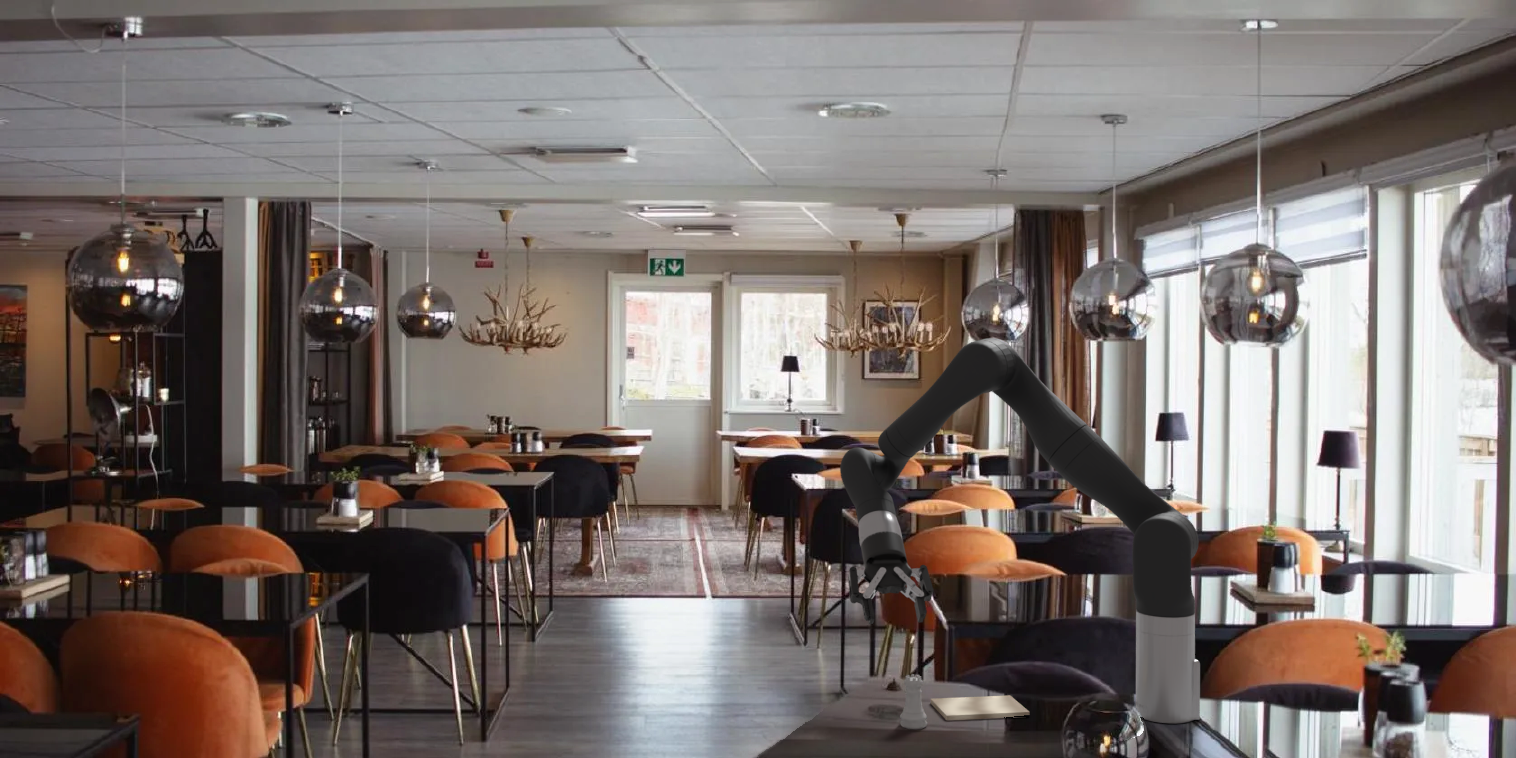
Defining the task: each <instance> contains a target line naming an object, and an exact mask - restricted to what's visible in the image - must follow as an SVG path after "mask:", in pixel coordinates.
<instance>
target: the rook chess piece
mask: <svg viewBox="0 0 1516 758" xmlns="http://www.w3.org/2000/svg"><path fill="white" fill-rule="evenodd" d="M902 682H903V684H904V686H905V690H904V693H905V701H904V702H905V703H904V707H903V710H902V713H900V716H899V718H900V719H901V720H900V721H899V724H900V726H901V727H902V728H904V729H907V730H922V729H924V728H925V727H927V725H928V721H927V719H928V716H927V714H926V713H925V709H924V707H923V704H922V693H923V691H922V686H923V685H924V681H923V680H922V676H920V674H916V675H915V674H911V675H910V674H906V675H905V679H904V680H903V681H902Z"/></svg>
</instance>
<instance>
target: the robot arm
mask: <svg viewBox="0 0 1516 758" xmlns="http://www.w3.org/2000/svg"><path fill="white" fill-rule="evenodd" d="M987 393H993V394H995V395H996V396H997V397H999V399H1001V400H1002V401H1003V402H1004V403H1005V404H1006V405H1007V406H1009V407H1010V408H1011V409H1012V411H1014V412H1015V414H1016V415H1017V416H1018V417H1019V418H1020V420H1021V421H1022V424H1023V425H1024V426H1025V429H1026V430H1027V432H1028V434H1029V436H1030V439H1031V440H1032V442H1033V444H1034V446H1035V448H1036V450H1037V451H1038V453H1039V454H1040V455H1041V456H1042V458H1043V459H1044V460H1045V461H1046V462H1047V463H1048V464H1049V465H1050V466H1051V467H1052V468H1053V469H1054V470H1055V471H1056V472H1057V473H1058V474H1059V475H1060V476H1061V477H1062V478H1063V479H1064V480H1065V481H1067V483H1069V484H1070V485H1071V486H1073V487H1074V488H1075V489H1077V490H1078V491H1080V492H1081V493H1083V494H1084V495H1086V496H1087V497H1089V498H1091V499H1092V500H1093V501H1095V502H1097V503H1098V504H1100V505H1102V506H1103V507H1105V508H1106V509H1108V510H1109V511H1110V512H1111V513H1113V514H1114V515H1115V516H1116V517H1117V518H1118V519H1119V520H1120V521H1121V522H1122V523H1123V524H1124V525H1125V526H1126V528H1128V530H1129V531H1130V532H1131V533H1132V534H1133V535H1134V536H1133V540H1132V550H1131V551H1132V552H1131V553H1132V554H1131V555H1132V556H1131V557H1132V560H1131V561H1132V563H1131V564H1132V589H1133V595H1134V598H1135V709H1136V708H1137V710H1138V712H1140V713H1141V715H1142V717H1143V718H1144V719H1143V718H1142V719H1143V720H1145V721H1150V722H1155V723H1161V724H1162V723H1163V724H1184V723H1189V722H1192V721H1194V720H1200V718H1201V717H1200V716H1201V715H1200V714H1201V713H1200V711H1201V705H1200V704H1201V699H1200V698H1201V663H1200V661H1199V660H1198V659H1197V658H1196V655H1195V654H1196V636H1195V634H1196V632H1195V631H1196V599H1195V596H1194V593H1193V588H1192V559H1193V558H1194V557H1195V556H1196V554H1197V552H1198V549H1199V543H1200V541H1199V535H1198V532H1197V529H1196V527H1195V526H1194V524H1193V522H1192V521H1191V520H1190V519H1188V518H1187V517H1186V516H1185V514H1182V513H1181V512H1180V511H1179V510H1177V509H1176V508H1175V507H1173V506H1172V505H1171V504H1170V503H1168V502H1167V501H1166V500H1164V498H1162V497H1161V496H1160V495H1159V494H1157V493H1156V492H1155V491H1153V490H1152V489H1151V488H1150V487H1149V486H1147V484H1145V482H1143V481H1142V479H1141V478H1139V477H1138V475H1137V474H1136V473H1135V472H1134V471H1133V470H1132V469H1131V468H1130V467H1129V465H1128V464H1127V463H1126V462H1125V461H1124V460H1123V459H1122V458H1121V457H1120V456H1119V455H1118V454H1117V453H1116V452H1115V451H1114V449H1112V448H1111V447H1110V446H1109V444H1107V442H1106V441H1104V439H1103V438H1101V436H1100V435H1099V434H1097V432H1096V431H1095V430H1093V428H1092V427H1090V425H1088V424H1087V423H1086V422H1085V420H1083V419H1082V418H1081V417H1079V416H1078V415H1077V414H1076V413H1075V412H1074V411H1073V410H1072V409H1071V408H1070V407H1069V406H1068V405H1067V404H1065V402H1064V401H1063V400H1061V398H1059V396H1057V395H1056V394H1055V393H1054V392H1053V391H1051V390H1050V389H1049V388H1048V387H1047V385H1045V384H1044V383H1043V382H1042V380H1041V379H1040V378H1039V377H1038V376H1037V374H1036V373H1035V372H1034V371H1033V370H1032V368H1030V367H1029V365H1028V364H1027V363H1026V362H1025V361H1024V359H1023V358H1022V357H1021V355H1019V353H1018V351H1016V350H1015V348H1013V346H1012V345H1010V344H1009V343H1008V342H1006V341H1005V340H1003V339H1000V338H995V337H987V338H983V339H979V340H975V341H974V340H973V341H971V342H969V343H967V344H965V345H964V346H962V348H961V349H959V351H958V353H956V355H955V356H954V358H953V359H952V360H951V361H950V362H949V364H948V365H947V366H946V367H945V369H944V370H943V372H942V374H940V375H939V376H938V378H937V379H936V381H935V382H933V384H932V385H931V386H930V387H929V388H928V389H927V391H926V392H925V393H923V395H922V396H920V397H919V398H918V399H917V400H916V401H915V402H914V403H912V405H910V406H909V408H907V409H906V410H904V411H903V413H901V414H900V415H899V416H898V417H897V418H896V419H895V420H893V422H892V423H891V424H889V425H888V426H887V427H886V428H885V429H884V430H883V431H882V432H881V433H880V434H879V437H878V439H877V444H878V445H877V446H878V447H879V450H880V451H881V454H882V456H881V455H879V454H877V453H875V452H872V451H871V450H868V449H866V448H863V447H852V448H850V449H848V451H846V452H845V453H844V455H843V456H842V459H841V461H840V467H839V471H840V472H839V473H840V478H841V481H842V484H843V486H844V488H845V490H846V492H847V495H848V497H849V499H850V500H851V503H852V504H853V505H854V507H855V514H856V518H857V523H858V537H859V541H858V542H859V545H860V546H859V547H860V548H861V556H862V560H863V565H864V569H857V567H856V566H851V567H850V568H849V571H848V576H847V579H848V580H847V582H848V591H849V592H848V593H849V602H850V603H851V604H860V605H861V606H862V612H863V613H862V614H863V617H864V621H866V622H868V624H871V625H873V624H874V622H875V618H876V617H875V611H874V605H873V599H874V597H875V596H876V594H877V593H878V592H879V593H880V594H882V595H884V594H889V593H890V594H900V593H901V594H902V595H904V596H905V597H906V598H909V599H910V600H911V601H912V602H913V603H914V605H913V606H914V609H915V614H916V615H915V616H916V620H917V622H918V623H923V622H924V620H925V619H926V616H927V612H928V611H927V607H926V602H930V601H931V600H932V597H933V594H934V591H935V589H934V587H933V583H932V581H931V580H932V579H931V576H930V574H929V569H928V566H927V565H925V564H922V565H920V566H919V567H916V568H911V566H910V565H909V564H908V559H907V558H908V557H907V554H906V548H905V545H904V540H903V536H902V535H903V534H902V530H901V526H900V524H899V521H898V518H897V512H896V508H895V503H894V500H893V497H892V496H891V494H890V493H889V492H888V491H889V490H890V489H891V488H892V487H893V486H894V485H895V483H896V481H897V480H898V478H899V477H900V475H901V473H902V472H903V470H904V469H905V467H906V465H907V464H908V462H909V461H910V460H911V459H912V458H913V457H914V456H915V455H916V454H917V453H919V451H921V450H922V449H923V448H924V447H926V445H928V443H929V442H931V440H932V439H934V438H935V437H936V435H937V434H938V432H940V430H941V428H943V426H944V424H945V423H946V422H947V421H948V420H949V419H950V418H951V416H953V414H955V413H956V412H957V411H958V410H959V409H960V408H962V407H963V406H965V405H966V404H967V403H969V402H971V401H973V400H974V399H976V398H977V397H979V396H982V394H987ZM911 577H913V578H915V580H916V581H917V582H919V585H920V587H921V588H919V587H918V586H917V585H916V582H915V581H914V580H912V579H911ZM862 578H863V579H864V580H865V581H866V582H867V583H868V584H869V585H868V586H867V587H866V589H865V590H864V592H861V591H860V589H859V588H860V587H859V583H860V582H861V580H862Z"/></svg>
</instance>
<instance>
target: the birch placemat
mask: <svg viewBox="0 0 1516 758" xmlns="http://www.w3.org/2000/svg"><path fill="white" fill-rule="evenodd" d="M930 705H931V706H933V708H934V709H935V710H936V711H937V712H938V713H939V714H940V715H941V716H942V718H944V719H945V721H964V720H965V721H967V720H984V719H985V720H986V719H989V720H990V719H1006V717H1013V718H1015V717H1014V716H1024V715H1030V710H1028V709H1027V708H1025V707H1024V706H1023V705H1022V704H1021V703H1020V702H1018V701H1017V700H1016V699H1015V698H1014V697H1013V696H1012V695H992V696H967V697H965V696H964V697H960V696H959V697H943V698H937V697H936V698H930ZM1004 717H1005V718H1004Z"/></svg>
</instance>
